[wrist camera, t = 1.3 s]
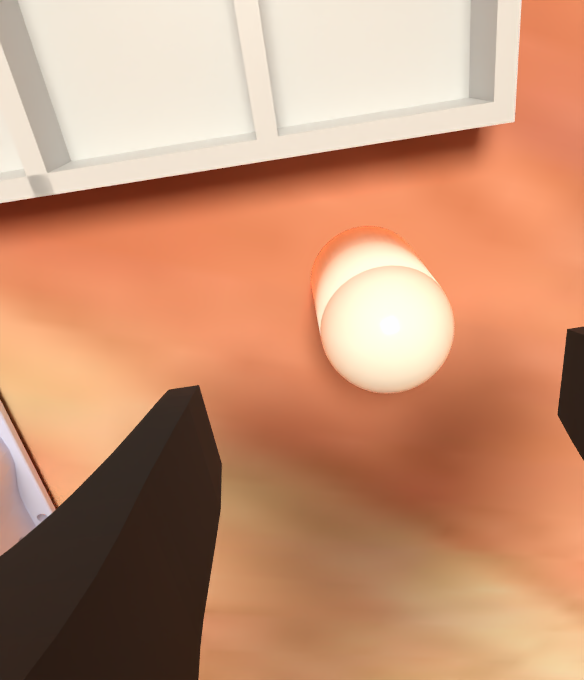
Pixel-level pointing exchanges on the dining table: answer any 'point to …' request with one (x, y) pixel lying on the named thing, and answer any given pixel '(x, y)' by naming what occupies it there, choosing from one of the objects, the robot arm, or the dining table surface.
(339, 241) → the cream egg
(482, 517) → the dining table surface
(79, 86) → the egg carton
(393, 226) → the dining table surface
